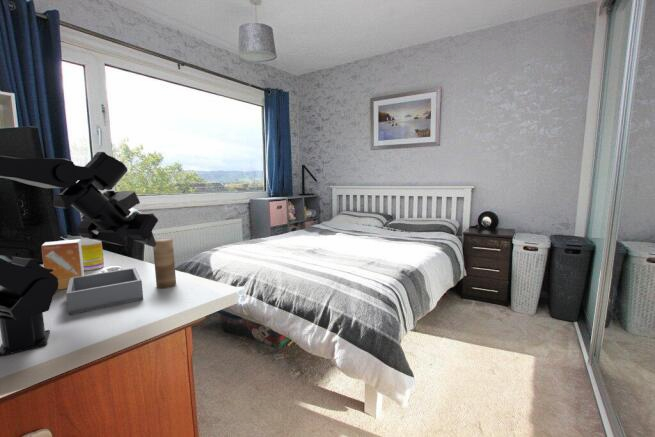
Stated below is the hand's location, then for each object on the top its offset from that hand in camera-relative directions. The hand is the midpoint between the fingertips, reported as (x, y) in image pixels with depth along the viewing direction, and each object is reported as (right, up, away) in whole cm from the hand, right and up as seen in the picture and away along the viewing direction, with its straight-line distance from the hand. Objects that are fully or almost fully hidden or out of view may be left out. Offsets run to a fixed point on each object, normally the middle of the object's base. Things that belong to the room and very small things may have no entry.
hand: (139, 244), depth 81 cm
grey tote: (-9, -14, 0) cm, 16 cm away
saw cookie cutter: (-22, -12, +23) cm, 34 cm away
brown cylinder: (+2, -12, +9) cm, 16 cm away
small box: (-27, -13, +10) cm, 32 cm away
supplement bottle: (-34, -11, +29) cm, 46 cm away
